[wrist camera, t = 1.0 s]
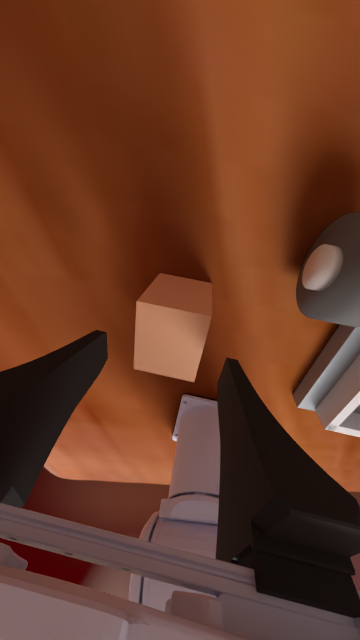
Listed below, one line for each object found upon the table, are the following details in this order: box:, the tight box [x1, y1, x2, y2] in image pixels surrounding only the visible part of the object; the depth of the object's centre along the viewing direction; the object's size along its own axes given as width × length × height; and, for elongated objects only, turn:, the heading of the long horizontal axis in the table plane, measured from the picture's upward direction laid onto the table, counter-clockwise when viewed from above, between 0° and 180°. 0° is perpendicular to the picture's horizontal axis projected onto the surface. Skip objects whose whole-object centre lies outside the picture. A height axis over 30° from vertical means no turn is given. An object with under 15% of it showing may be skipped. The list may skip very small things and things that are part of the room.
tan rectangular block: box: [134, 273, 212, 382], centre depth 15 cm, size 6×4×6 cm
